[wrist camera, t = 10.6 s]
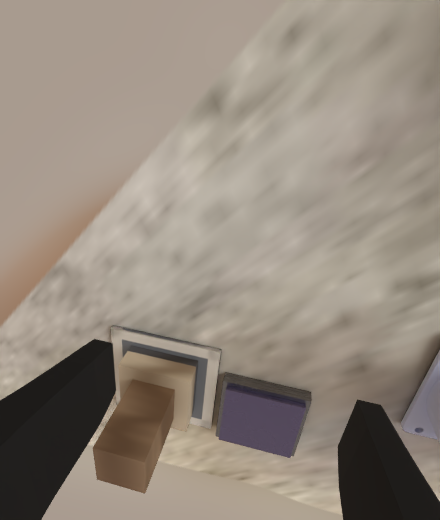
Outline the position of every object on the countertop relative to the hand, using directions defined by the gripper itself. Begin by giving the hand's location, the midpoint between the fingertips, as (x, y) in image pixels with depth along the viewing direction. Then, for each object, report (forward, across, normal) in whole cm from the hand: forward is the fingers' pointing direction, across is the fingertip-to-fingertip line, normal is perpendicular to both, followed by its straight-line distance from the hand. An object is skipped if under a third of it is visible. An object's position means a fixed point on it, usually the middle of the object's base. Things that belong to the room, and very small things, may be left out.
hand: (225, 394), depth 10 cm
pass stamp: (+10, +6, +12) cm, 16 cm away
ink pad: (+10, -2, +13) cm, 17 cm away
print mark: (+10, +6, +12) cm, 17 cm away
